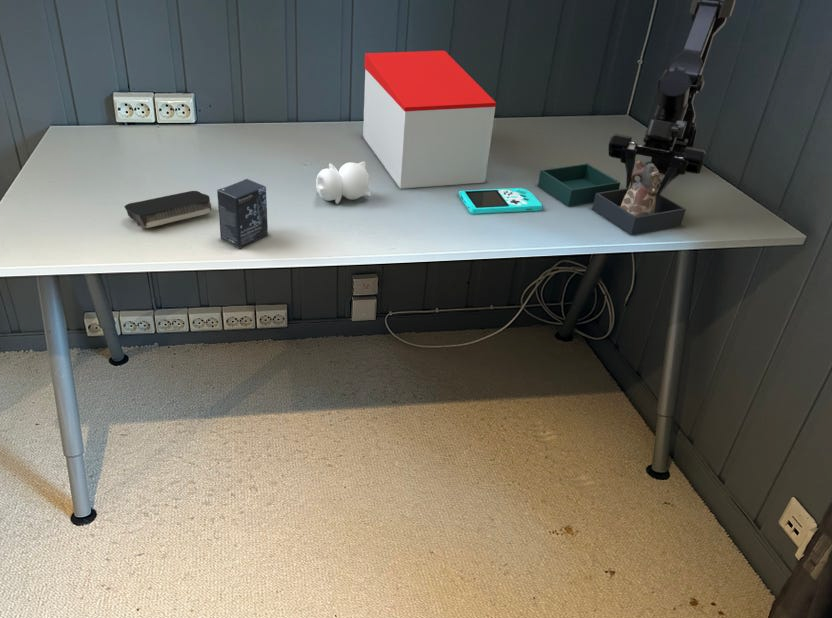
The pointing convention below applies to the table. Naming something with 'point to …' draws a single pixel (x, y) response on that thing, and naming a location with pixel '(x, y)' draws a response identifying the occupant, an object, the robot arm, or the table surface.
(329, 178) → the cat figurine
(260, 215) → the box
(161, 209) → the black sponge
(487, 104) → the storage cube
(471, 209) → the handheld game console
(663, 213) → the grey tote
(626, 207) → the ceramic spout vessel
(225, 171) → the table surface
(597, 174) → the teal tote
